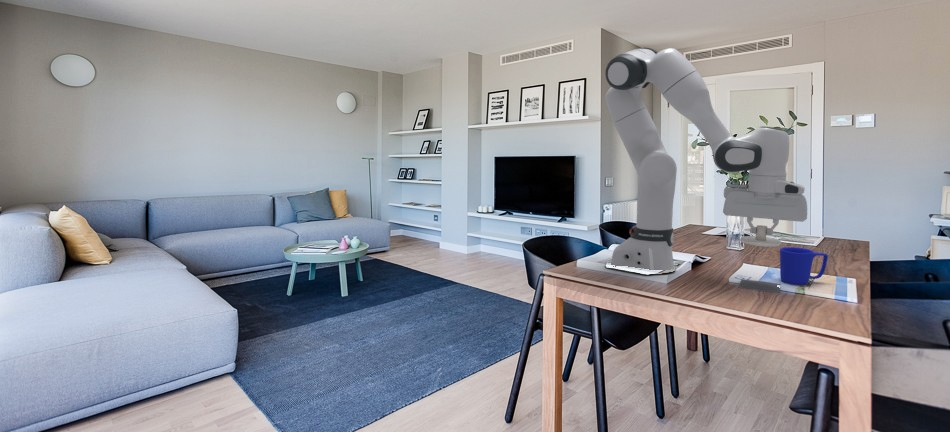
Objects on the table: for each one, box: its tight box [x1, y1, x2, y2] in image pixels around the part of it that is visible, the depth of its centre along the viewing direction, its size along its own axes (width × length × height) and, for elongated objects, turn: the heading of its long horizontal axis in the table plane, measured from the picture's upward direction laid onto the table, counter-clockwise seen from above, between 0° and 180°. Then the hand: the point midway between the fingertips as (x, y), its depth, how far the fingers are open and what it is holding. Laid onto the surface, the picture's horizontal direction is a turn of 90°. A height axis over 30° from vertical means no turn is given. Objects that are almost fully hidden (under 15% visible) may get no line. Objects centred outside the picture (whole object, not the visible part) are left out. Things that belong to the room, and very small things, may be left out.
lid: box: [739, 224, 782, 248], centre depth 132 cm, size 10×10×5 cm
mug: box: [779, 246, 829, 286], centre depth 135 cm, size 8×12×10 cm
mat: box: [738, 278, 782, 294], centre depth 133 cm, size 10×10×1 cm
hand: (761, 233), depth 131 cm, fingers closed on lid, 3 cm apart
